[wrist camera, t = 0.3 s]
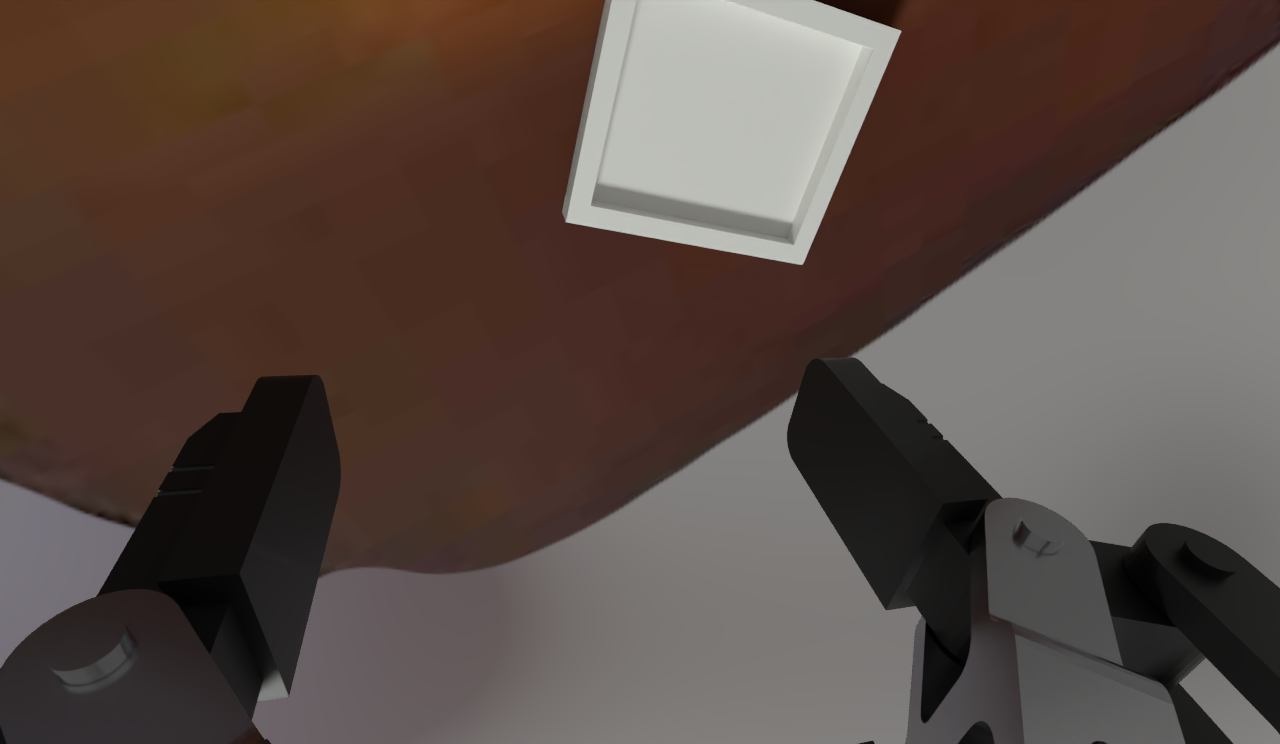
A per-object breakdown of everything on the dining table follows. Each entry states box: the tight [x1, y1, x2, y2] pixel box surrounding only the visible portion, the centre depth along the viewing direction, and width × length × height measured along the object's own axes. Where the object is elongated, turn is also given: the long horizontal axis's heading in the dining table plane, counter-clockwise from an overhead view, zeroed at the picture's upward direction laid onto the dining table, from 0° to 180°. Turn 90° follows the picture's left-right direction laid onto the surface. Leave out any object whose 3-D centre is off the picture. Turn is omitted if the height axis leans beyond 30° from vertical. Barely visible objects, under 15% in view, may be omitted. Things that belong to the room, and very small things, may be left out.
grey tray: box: [562, 0, 901, 265], centre depth 35 cm, size 14×16×2 cm
